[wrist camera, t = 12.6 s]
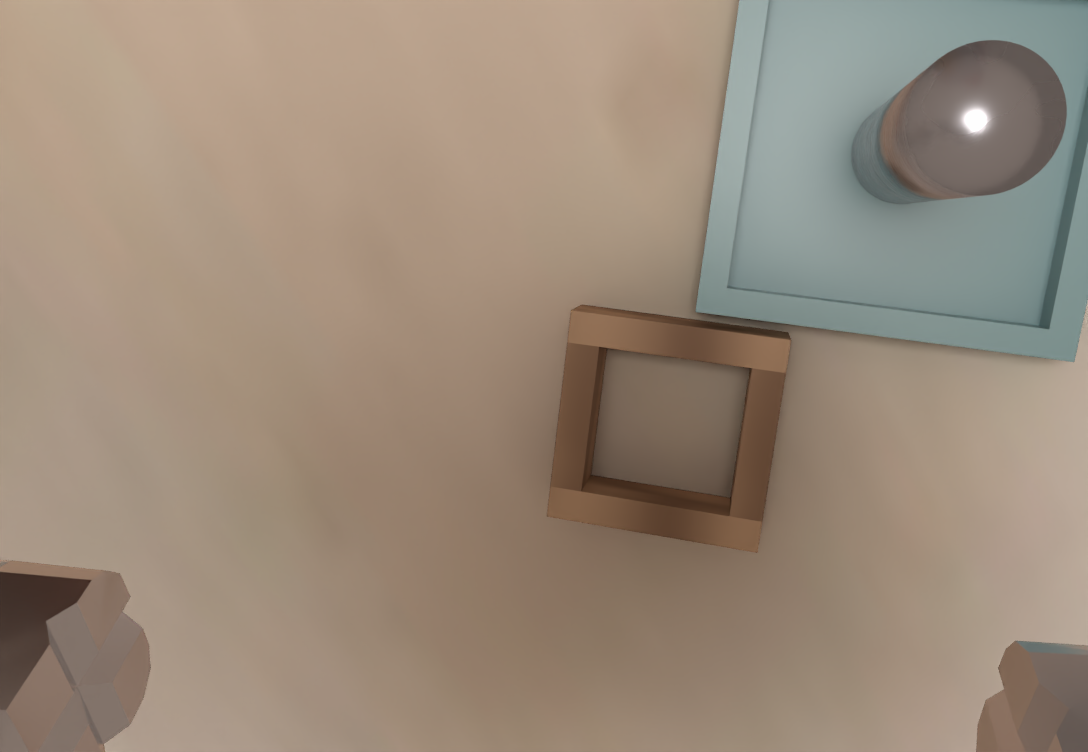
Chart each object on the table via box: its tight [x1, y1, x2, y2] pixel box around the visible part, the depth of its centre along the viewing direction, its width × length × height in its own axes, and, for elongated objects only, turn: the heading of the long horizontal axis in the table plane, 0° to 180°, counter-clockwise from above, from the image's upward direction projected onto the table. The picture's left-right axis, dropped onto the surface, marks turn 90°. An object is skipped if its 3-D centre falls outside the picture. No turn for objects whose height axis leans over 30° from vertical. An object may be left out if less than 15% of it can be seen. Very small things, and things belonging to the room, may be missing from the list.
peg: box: [851, 40, 1067, 204], centre depth 29 cm, size 4×4×12 cm
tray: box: [696, 0, 1088, 362], centre depth 35 cm, size 13×13×2 cm
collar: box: [547, 305, 791, 553], centre depth 38 cm, size 8×8×2 cm
